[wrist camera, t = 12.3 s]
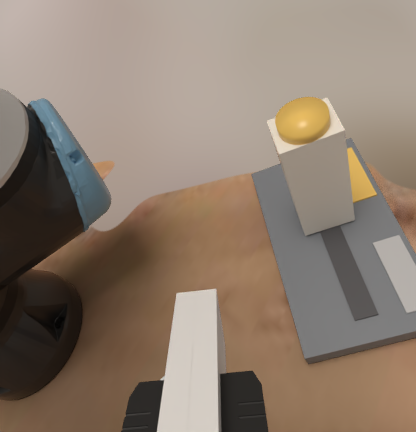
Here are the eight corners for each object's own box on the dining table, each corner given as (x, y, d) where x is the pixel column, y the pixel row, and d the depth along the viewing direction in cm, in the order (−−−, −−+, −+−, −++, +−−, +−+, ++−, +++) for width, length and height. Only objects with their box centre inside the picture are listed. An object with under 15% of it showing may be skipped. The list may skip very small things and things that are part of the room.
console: (449, 329, 31) (453, 320, 30) (308, 364, 34) (304, 358, 32) (352, 149, 45) (350, 136, 43) (255, 184, 47) (251, 173, 46)
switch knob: (355, 220, 37) (343, 120, 27) (305, 235, 38) (276, 145, 28) (340, 189, 40) (325, 87, 29) (294, 205, 41) (263, 111, 30)
